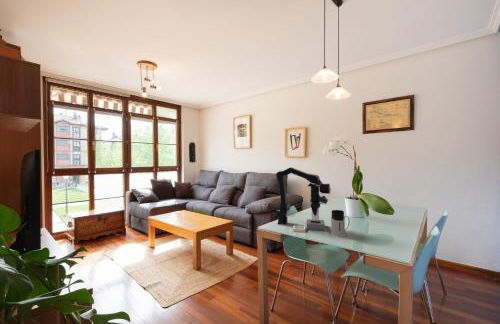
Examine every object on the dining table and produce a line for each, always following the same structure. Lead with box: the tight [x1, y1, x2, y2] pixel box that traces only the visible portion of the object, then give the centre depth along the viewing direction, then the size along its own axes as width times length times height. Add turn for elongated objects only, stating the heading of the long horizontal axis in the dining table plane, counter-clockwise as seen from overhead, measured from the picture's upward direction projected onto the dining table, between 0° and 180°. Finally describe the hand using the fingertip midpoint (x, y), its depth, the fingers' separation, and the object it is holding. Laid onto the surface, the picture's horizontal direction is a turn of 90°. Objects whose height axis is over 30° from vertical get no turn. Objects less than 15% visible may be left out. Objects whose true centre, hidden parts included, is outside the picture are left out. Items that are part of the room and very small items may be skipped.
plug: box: [310, 207, 320, 220], centre depth 166 cm, size 5×4×9 cm
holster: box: [292, 225, 306, 233], centre depth 161 cm, size 8×7×2 cm
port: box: [306, 218, 326, 231], centre depth 166 cm, size 12×12×5 cm
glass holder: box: [330, 209, 351, 238], centre depth 148 cm, size 9×14×15 cm, turn 20°
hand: (315, 214), depth 166 cm, fingers closed on plug, 3 cm apart
